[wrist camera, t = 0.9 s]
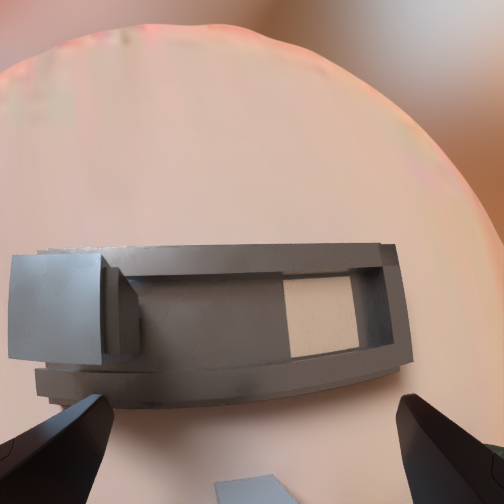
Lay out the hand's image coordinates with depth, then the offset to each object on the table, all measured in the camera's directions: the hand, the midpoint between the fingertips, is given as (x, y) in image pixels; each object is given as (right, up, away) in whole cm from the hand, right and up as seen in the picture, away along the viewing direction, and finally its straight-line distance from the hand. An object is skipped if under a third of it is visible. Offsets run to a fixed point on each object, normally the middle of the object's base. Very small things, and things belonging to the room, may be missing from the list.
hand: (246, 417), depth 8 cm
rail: (-1, 0, +12) cm, 12 cm away
